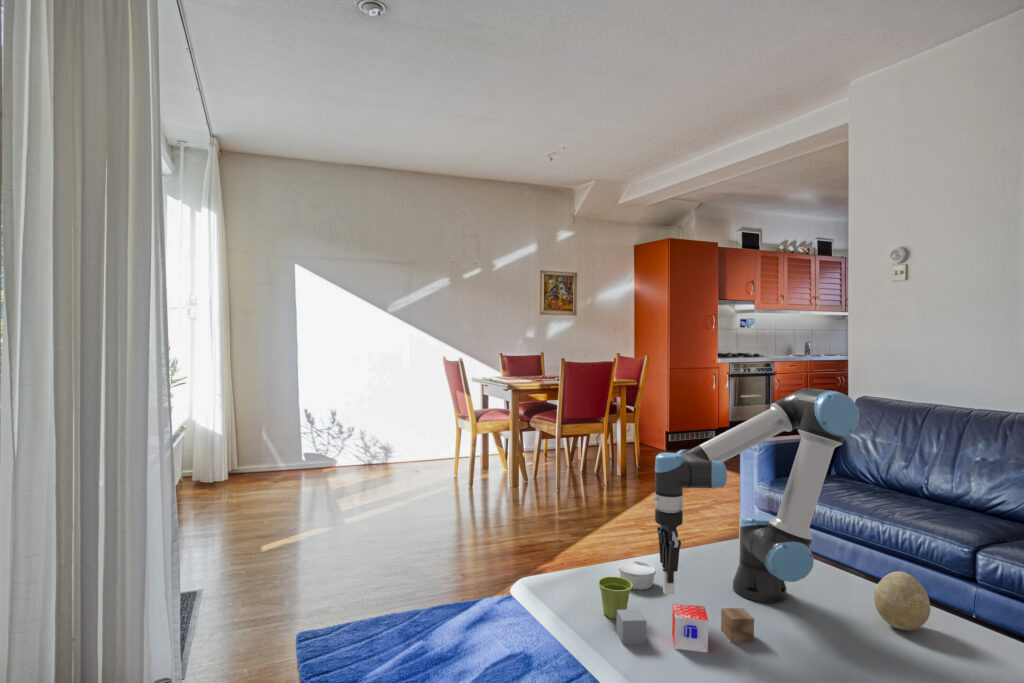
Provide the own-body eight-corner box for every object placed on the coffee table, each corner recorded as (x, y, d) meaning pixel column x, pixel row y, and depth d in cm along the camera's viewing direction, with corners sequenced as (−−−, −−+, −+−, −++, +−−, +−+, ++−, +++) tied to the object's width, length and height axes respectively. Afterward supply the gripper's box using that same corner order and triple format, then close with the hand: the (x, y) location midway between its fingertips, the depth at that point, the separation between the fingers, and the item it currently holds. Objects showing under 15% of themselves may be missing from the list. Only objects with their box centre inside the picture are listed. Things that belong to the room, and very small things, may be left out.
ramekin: (660, 582, 188) (660, 565, 188) (648, 595, 179) (648, 577, 179) (626, 574, 194) (626, 558, 194) (613, 586, 185) (613, 569, 185)
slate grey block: (639, 632, 156) (639, 609, 156) (645, 644, 150) (646, 620, 150) (616, 632, 156) (616, 609, 155) (622, 644, 150) (622, 620, 149)
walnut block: (743, 630, 158) (743, 608, 158) (753, 642, 152) (754, 618, 152) (720, 630, 158) (721, 608, 158) (730, 642, 152) (731, 619, 152)
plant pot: (631, 624, 160) (632, 592, 160) (596, 620, 162) (597, 588, 162) (631, 608, 169) (632, 578, 169) (598, 605, 171) (599, 575, 171)
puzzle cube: (703, 637, 154) (704, 606, 154) (707, 652, 146) (708, 620, 146) (671, 633, 156) (672, 603, 156) (674, 648, 148) (674, 617, 148)
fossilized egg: (880, 612, 170) (882, 559, 170) (934, 628, 161) (935, 573, 161) (867, 626, 161) (868, 571, 161) (923, 645, 152) (925, 586, 152)
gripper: (648, 502, 174) (648, 583, 174) (663, 516, 161) (663, 603, 161) (673, 502, 174) (673, 582, 175) (690, 515, 161) (690, 602, 162)
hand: (668, 592), depth 168 cm, fingers closed
